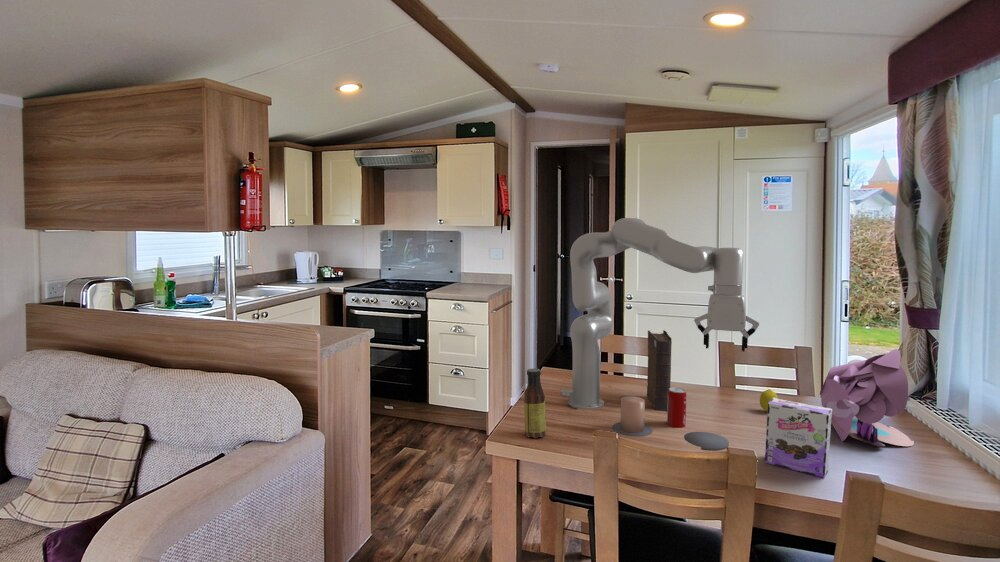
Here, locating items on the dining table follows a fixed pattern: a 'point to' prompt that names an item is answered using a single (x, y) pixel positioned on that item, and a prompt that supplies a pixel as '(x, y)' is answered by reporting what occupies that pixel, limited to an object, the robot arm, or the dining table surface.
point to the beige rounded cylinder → (632, 414)
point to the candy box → (798, 436)
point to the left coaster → (646, 432)
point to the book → (659, 369)
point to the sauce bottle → (534, 405)
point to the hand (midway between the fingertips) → (724, 349)
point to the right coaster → (707, 440)
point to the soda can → (676, 407)
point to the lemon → (767, 398)
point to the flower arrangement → (867, 398)
